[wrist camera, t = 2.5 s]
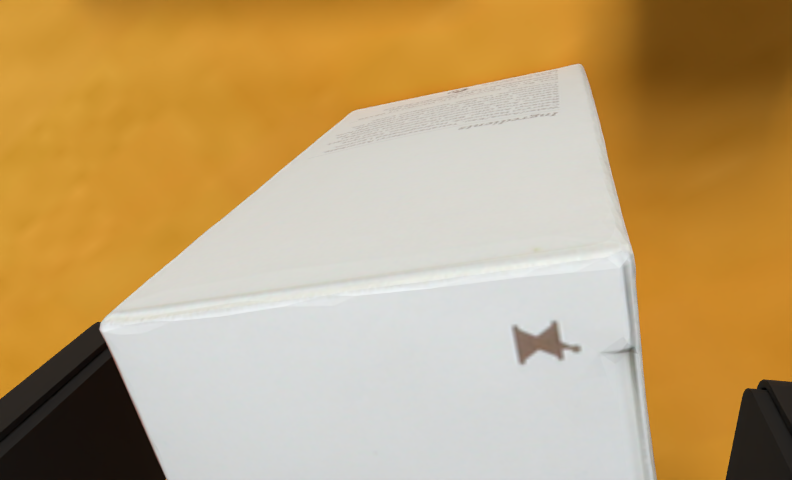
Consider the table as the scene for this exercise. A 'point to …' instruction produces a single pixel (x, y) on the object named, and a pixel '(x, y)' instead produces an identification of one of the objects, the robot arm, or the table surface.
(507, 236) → the small box
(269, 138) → the table surface
